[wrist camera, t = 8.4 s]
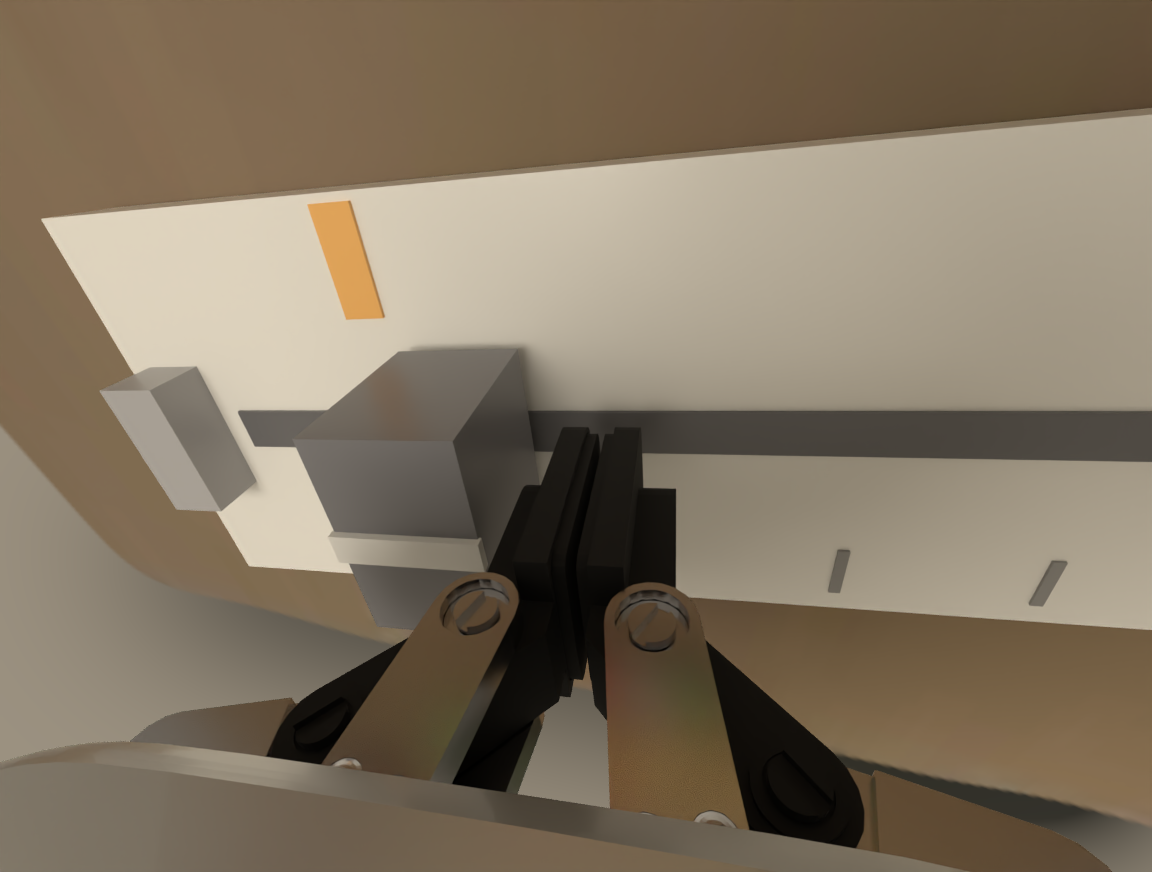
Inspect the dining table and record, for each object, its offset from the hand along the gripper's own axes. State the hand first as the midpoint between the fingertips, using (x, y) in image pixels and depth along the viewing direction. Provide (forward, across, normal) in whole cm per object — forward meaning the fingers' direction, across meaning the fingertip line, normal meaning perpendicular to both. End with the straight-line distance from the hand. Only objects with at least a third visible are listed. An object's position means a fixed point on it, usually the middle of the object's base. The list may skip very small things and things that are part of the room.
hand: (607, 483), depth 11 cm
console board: (+4, -1, 0) cm, 4 cm away
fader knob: (+2, +4, 0) cm, 4 cm away
